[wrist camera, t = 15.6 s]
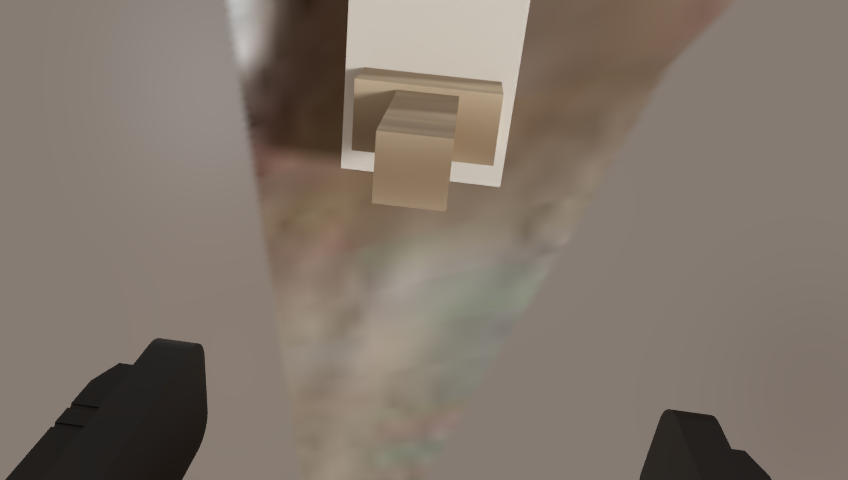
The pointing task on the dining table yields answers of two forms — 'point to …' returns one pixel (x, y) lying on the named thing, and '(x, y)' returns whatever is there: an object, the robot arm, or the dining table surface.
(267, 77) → the dining table surface
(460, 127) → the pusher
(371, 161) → the sweep board
